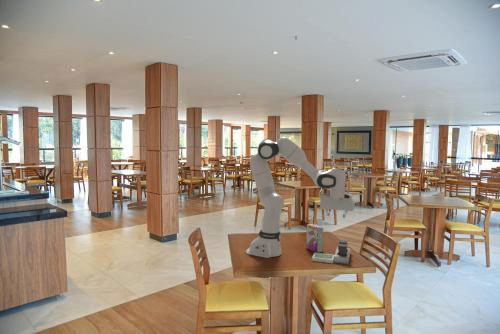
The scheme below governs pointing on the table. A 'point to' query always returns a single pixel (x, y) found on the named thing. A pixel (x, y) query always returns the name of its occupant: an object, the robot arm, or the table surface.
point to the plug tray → (323, 257)
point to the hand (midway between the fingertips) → (336, 216)
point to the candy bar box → (314, 238)
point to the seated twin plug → (343, 242)
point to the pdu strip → (342, 257)
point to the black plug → (342, 249)
